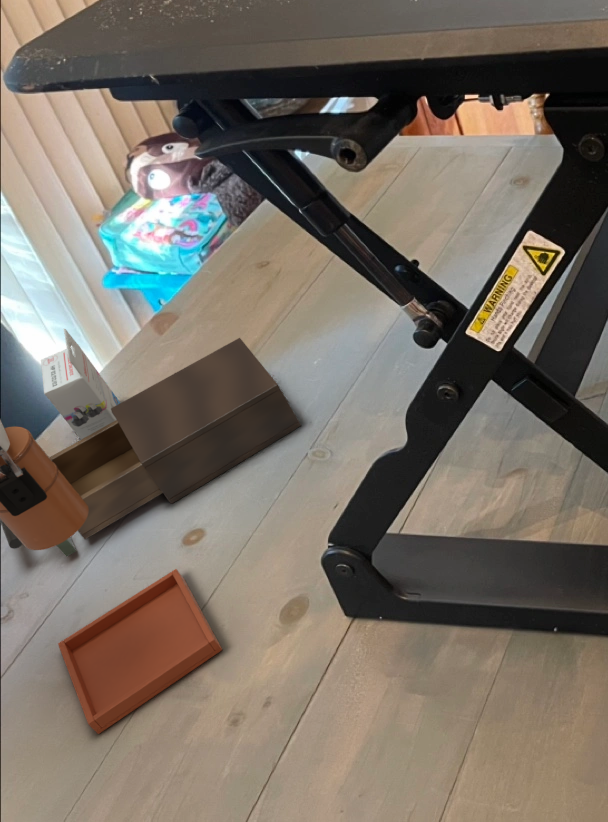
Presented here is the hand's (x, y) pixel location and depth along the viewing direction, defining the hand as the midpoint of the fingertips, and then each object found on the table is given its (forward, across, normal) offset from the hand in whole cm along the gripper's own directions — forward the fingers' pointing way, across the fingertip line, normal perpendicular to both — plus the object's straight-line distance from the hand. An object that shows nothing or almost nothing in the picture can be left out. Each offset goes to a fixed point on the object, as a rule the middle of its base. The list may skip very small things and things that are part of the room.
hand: (21, 485), depth 104 cm
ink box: (+23, -38, +6) cm, 45 cm away
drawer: (+22, -23, +3) cm, 32 cm away
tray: (+23, +4, -1) cm, 24 cm away
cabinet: (+23, -23, +17) cm, 37 cm away
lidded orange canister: (+6, 0, 0) cm, 6 cm away
